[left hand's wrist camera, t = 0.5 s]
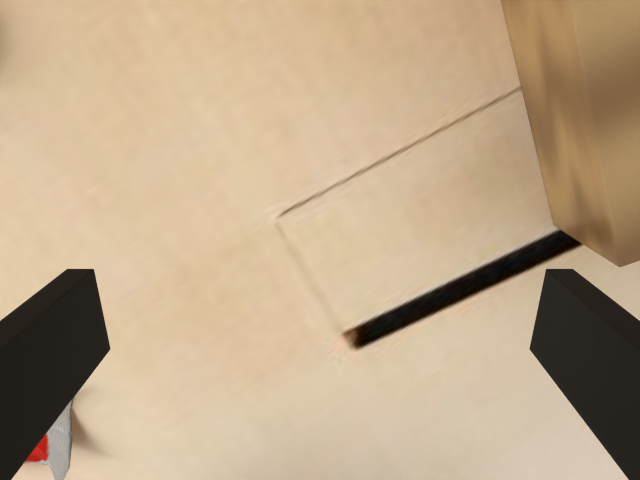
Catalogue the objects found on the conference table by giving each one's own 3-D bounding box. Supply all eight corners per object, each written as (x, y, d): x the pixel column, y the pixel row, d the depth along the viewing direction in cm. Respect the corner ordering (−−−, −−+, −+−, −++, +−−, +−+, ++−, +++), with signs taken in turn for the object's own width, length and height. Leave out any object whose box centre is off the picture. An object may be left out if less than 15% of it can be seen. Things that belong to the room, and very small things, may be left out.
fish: (-119, 434, 41) (-150, 534, 33) (45, 339, 45) (50, 410, 37) (-32, 479, 47) (-41, 570, 40) (104, 393, 52) (118, 462, 44)
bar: (613, 203, 38) (697, 240, 29) (553, 225, 38) (619, 267, 30) (559, -96, 30) (653, -162, 22) (486, -61, 31) (549, -113, 22)
